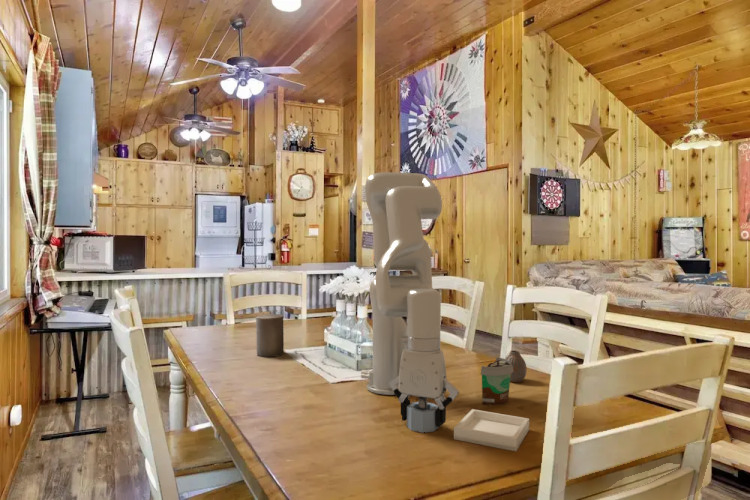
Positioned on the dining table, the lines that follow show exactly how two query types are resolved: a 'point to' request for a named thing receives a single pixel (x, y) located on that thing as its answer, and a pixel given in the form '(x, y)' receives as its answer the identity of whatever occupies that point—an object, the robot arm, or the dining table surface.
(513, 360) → the vase
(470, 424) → the tray
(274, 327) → the pillar candle
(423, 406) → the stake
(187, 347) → the dining table surface
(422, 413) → the ring
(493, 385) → the food container
